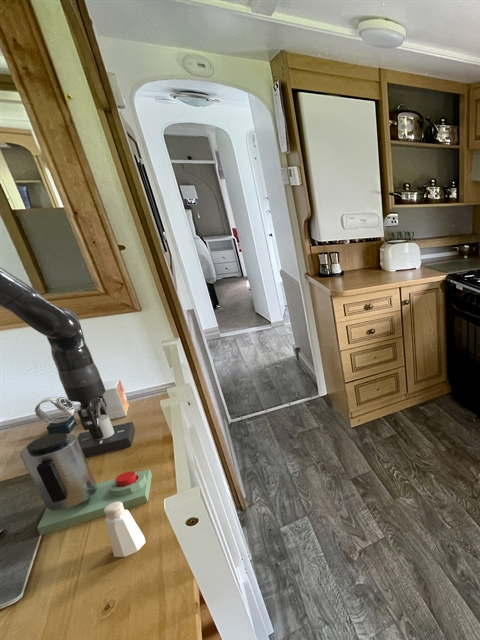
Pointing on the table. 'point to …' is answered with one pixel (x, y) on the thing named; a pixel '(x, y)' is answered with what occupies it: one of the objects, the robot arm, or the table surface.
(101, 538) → the table surface
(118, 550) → the salt shaker
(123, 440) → the dial panel
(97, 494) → the kettle base
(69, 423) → the watch
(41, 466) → the kettle
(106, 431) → the temp dial
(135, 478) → the kettle switch
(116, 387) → the small box
